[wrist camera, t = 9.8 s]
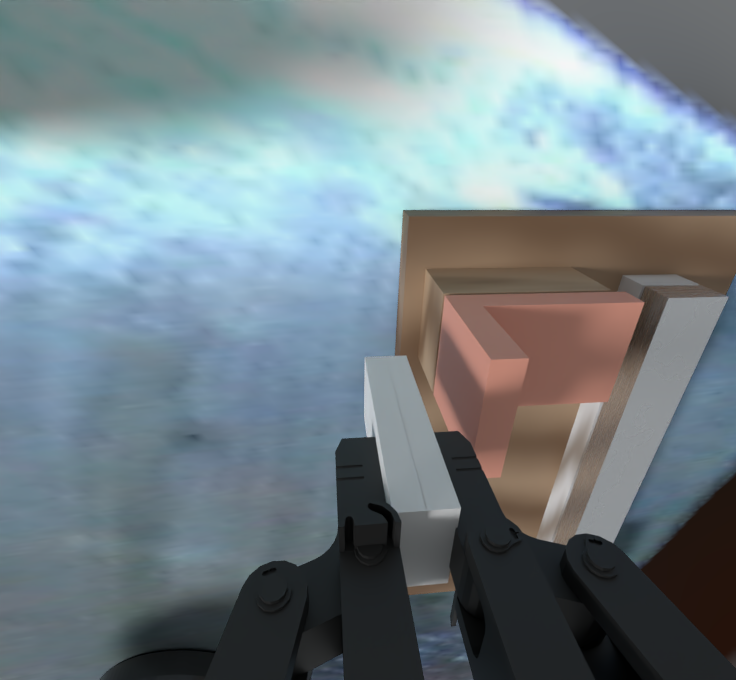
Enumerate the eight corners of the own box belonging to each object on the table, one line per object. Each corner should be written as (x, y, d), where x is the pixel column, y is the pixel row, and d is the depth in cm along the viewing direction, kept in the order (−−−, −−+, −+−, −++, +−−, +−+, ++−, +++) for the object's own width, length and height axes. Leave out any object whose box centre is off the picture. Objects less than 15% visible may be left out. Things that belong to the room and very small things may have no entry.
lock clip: (592, 387, 20) (674, 465, 15) (433, 394, 19) (468, 479, 14) (625, 291, 17) (732, 350, 13) (444, 295, 17) (490, 359, 12)
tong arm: (575, 579, 31) (586, 600, 30) (538, 583, 31) (547, 603, 29) (701, 285, 20) (728, 296, 18) (645, 286, 20) (668, 298, 18)
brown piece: (584, 560, 36) (625, 629, 31) (382, 578, 34) (392, 654, 29) (735, 210, 22) (854, 235, 17) (403, 210, 20) (429, 237, 15)
